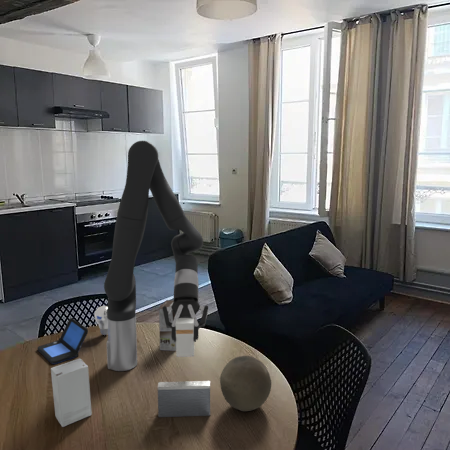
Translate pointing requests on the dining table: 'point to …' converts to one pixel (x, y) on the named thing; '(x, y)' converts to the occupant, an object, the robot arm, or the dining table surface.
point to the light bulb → (102, 319)
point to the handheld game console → (65, 343)
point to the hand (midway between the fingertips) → (185, 340)
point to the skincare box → (71, 392)
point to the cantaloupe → (245, 383)
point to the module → (184, 337)
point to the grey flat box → (184, 398)
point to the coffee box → (165, 332)
